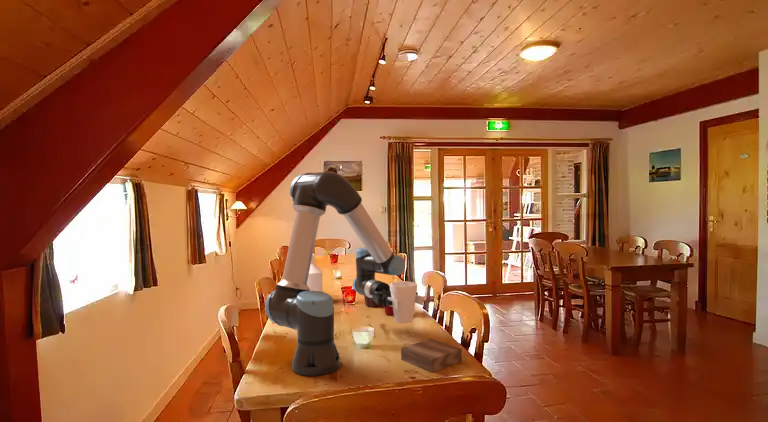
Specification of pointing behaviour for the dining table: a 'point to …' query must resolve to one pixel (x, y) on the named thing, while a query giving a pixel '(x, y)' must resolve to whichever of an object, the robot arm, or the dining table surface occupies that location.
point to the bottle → (314, 277)
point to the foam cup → (404, 300)
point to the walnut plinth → (431, 355)
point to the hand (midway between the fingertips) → (410, 303)
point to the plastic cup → (389, 310)
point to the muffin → (371, 303)
